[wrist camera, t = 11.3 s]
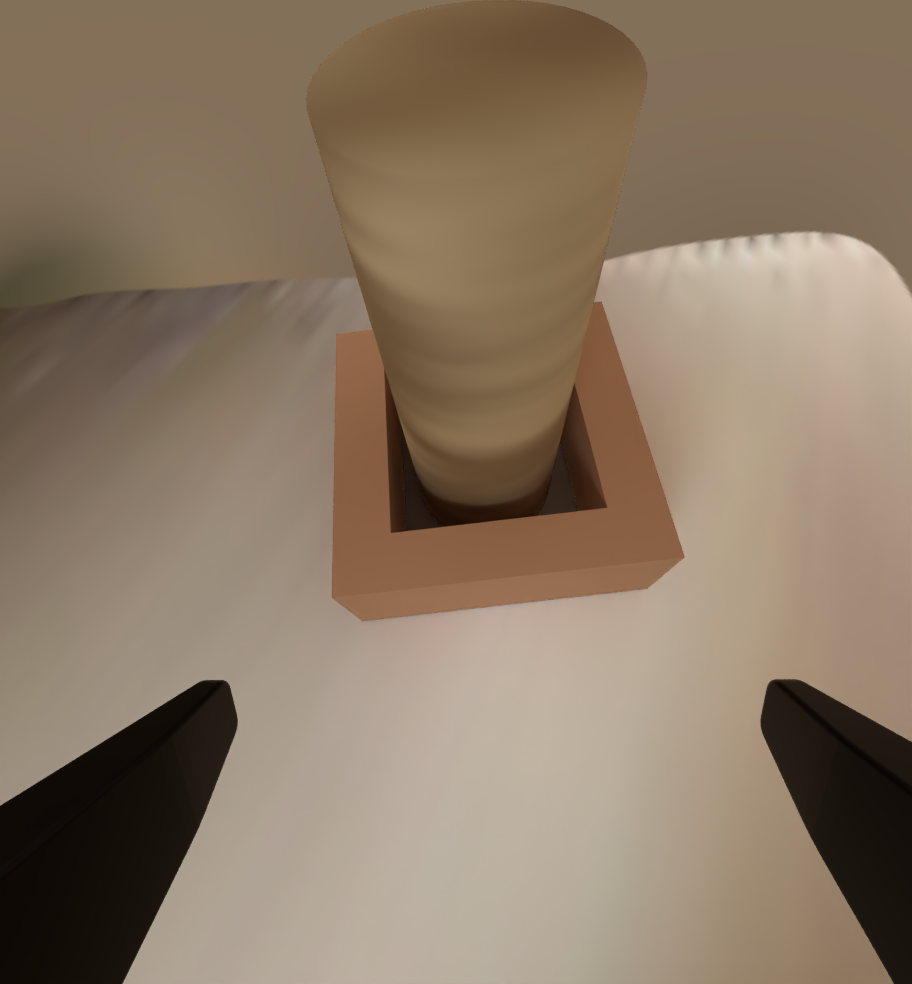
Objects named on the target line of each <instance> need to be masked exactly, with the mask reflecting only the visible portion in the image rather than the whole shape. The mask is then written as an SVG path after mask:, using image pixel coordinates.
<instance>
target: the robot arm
mask: <svg viewBox="0 0 912 984" xmlns="http://www.w3.org/2000/svg"><path fill="white" fill-rule="evenodd" d="M237 723H238V719H237V713H236V709H235V705H234V701H233V697H232V693H231V688H230V686H229V684H228V683H227V682H226V681H224V680H204V681H201V682H199V683H197V684H195V685H194V686H192V687H191V688H189V689H187V690H186V691H184V692H183V693H181V694H179V695H178V696H176V697H175V698H173V699H171V700H170V701H168V702H166V703H165V704H163V705H162V706H160V707H158V708H157V709H155V710H154V711H152V712H150V713H149V714H147V715H146V716H144V717H142V718H141V719H139V720H138V721H136V722H134V723H133V724H131V725H129V726H128V727H126V728H125V729H123V730H121V731H120V732H118V733H117V734H115V735H113V736H112V737H110V738H109V739H107V740H105V741H104V742H102V743H101V744H99V745H97V746H96V747H94V748H92V749H91V750H89V751H88V752H86V753H84V754H83V755H81V756H80V757H78V758H76V759H75V760H73V761H72V762H70V763H68V764H67V765H65V766H64V767H62V768H60V769H59V770H57V771H55V772H54V773H52V774H51V775H49V776H47V777H46V778H44V779H43V780H41V781H39V782H38V783H36V784H35V785H33V786H31V787H30V788H28V789H27V790H25V791H23V792H22V793H20V794H18V795H17V796H15V797H14V798H12V799H10V800H9V801H7V802H6V803H4V804H2V805H1V806H0V984H123V982H124V980H125V978H126V976H127V974H128V971H129V969H130V967H131V965H132V963H133V961H134V959H135V957H136V955H137V953H138V951H139V949H140V947H141V945H142V943H143V941H144V939H145V937H146V935H147V933H148V931H149V929H150V927H151V925H152V923H153V921H154V919H155V916H156V914H157V912H158V910H159V908H160V906H161V904H162V902H163V900H164V898H165V896H166V894H167V892H168V890H169V888H170V886H171V884H172V882H173V880H174V878H175V876H176V874H177V872H178V870H179V868H180V866H181V864H182V861H183V859H184V857H185V855H186V853H187V851H188V849H189V847H190V845H191V843H192V841H193V839H194V837H195V835H196V832H197V830H198V828H199V826H200V823H201V821H202V819H203V816H204V814H205V811H206V809H207V806H208V804H209V801H210V798H211V796H212V793H213V791H214V788H215V785H216V783H217V780H218V778H219V775H220V772H221V770H222V767H223V765H224V762H225V759H226V757H227V754H228V752H229V749H230V746H231V744H232V741H233V739H234V736H235V733H236V730H237ZM761 730H762V733H763V736H764V738H765V740H766V743H767V745H768V747H769V749H770V751H771V753H772V756H773V758H774V760H775V762H776V764H777V766H778V769H779V771H780V773H781V775H782V777H783V779H784V782H785V784H786V786H787V788H788V790H789V792H790V795H791V797H792V799H793V801H794V803H795V805H796V808H797V810H798V812H799V814H800V816H801V818H802V821H803V823H804V825H805V827H806V829H807V831H808V833H809V835H810V837H811V839H812V840H813V842H814V844H815V846H816V848H817V850H818V851H819V853H820V855H821V857H822V859H823V860H824V862H825V864H826V866H827V867H828V869H829V871H830V873H831V874H832V876H833V878H834V880H835V881H836V883H837V885H838V887H839V888H840V890H841V892H842V894H843V895H844V897H845V899H846V901H847V902H848V904H849V906H850V908H851V909H852V911H853V913H854V915H855V916H856V918H857V920H858V922H859V923H860V925H861V927H862V928H863V930H864V932H865V934H866V935H867V937H868V939H869V941H870V942H871V944H872V946H873V948H874V949H875V951H876V953H877V955H878V956H879V958H880V960H881V962H882V963H883V965H884V967H885V969H886V970H887V972H888V974H889V976H890V977H891V979H892V981H893V983H894V984H912V742H911V741H909V740H907V739H905V738H903V737H902V736H900V735H898V734H896V733H894V732H893V731H891V730H889V729H887V728H885V727H884V726H882V725H880V724H878V723H876V722H875V721H873V720H871V719H869V718H867V717H866V716H864V715H862V714H860V713H858V712H857V711H855V710H853V709H851V708H849V707H848V706H846V705H844V704H842V703H841V702H839V701H837V700H835V699H833V698H832V697H830V696H828V695H826V694H824V693H823V692H821V691H819V690H817V689H815V688H814V687H812V686H810V685H808V684H806V683H805V682H803V681H800V680H796V679H775V680H772V681H770V683H769V684H768V686H767V690H766V695H765V699H764V704H763V709H762V714H761Z"/></svg>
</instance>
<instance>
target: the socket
mask: <svg viewBox="0 0 912 984" xmlns="http://www.w3.org/2000/svg"><path fill="white" fill-rule="evenodd" d="M561 441H562V445H563V450H564V454H565V458H566V463H567V467H568V471H569V475H570V480H571V484H572V488H573V493H574V497H575V501H576V506H577V510H578V511H576V512H567V513H559V514H550V515H541V516H533V517H524V518H516V519H507V520H498V521H490V522H481V523H473V524H464V525H456V526H447V527H438V528H430V529H421V530H413V531H407V526H406V508H405V491H404V473H403V455H402V437H401V422H400V419H399V416H398V412H397V409H396V406H395V402H394V399H393V396H392V392H391V389H390V385H389V382H388V379H387V375H386V372H385V369H384V365H383V362H382V359H381V355H380V352H379V349H378V345H377V342H376V339H375V335H374V332H373V330H368V331H360V332H352V333H344V334H336V390H335V448H334V506H333V564H332V598H333V599H334V600H336V601H337V602H338V603H339V604H341V605H342V606H343V607H345V608H346V609H347V610H348V611H350V612H351V613H352V614H354V615H355V616H356V617H357V618H359V619H360V620H361V621H367V620H375V619H384V618H393V617H402V616H411V615H419V614H428V613H437V612H446V611H455V610H463V609H472V608H481V607H490V606H499V605H507V604H516V603H525V602H534V601H543V600H551V599H560V598H569V597H578V596H586V595H595V594H604V593H613V592H622V591H630V590H639V589H647V588H649V587H650V586H651V585H652V584H653V583H655V582H656V581H657V580H658V579H659V578H661V577H662V576H663V575H664V574H665V573H666V572H668V571H669V570H670V569H671V568H672V567H674V566H675V565H676V564H677V563H678V562H679V561H681V560H682V559H683V558H684V554H683V551H682V548H681V545H680V542H679V538H678V535H677V532H676V529H675V526H674V523H673V520H672V517H671V514H670V511H669V508H668V505H667V502H666V498H665V495H664V492H663V489H662V486H661V483H660V480H659V477H658V474H657V471H656V468H655V465H654V462H653V459H652V455H651V452H650V449H649V446H648V443H647V440H646V437H645V434H644V431H643V428H642V425H641V422H640V419H639V416H638V412H637V409H636V406H635V403H634V400H633V397H632V394H631V391H630V388H629V385H628V382H627V379H626V376H625V373H624V369H623V366H622V363H621V360H620V357H619V354H618V351H617V348H616V345H615V342H614V339H613V336H612V333H611V330H610V326H609V323H608V320H607V317H606V314H605V311H604V308H603V305H602V302H595V303H593V307H592V311H591V316H590V320H589V324H588V328H587V332H586V336H585V340H584V344H583V349H582V353H581V357H580V361H579V365H578V369H577V373H576V377H575V381H574V386H573V390H572V394H571V398H570V402H569V406H568V410H567V414H566V419H565V423H564V427H563V431H562V435H561Z"/></svg>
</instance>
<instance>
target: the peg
mask: <svg viewBox="0 0 912 984" xmlns="http://www.w3.org/2000/svg"><path fill="white" fill-rule="evenodd" d="M646 82H647V71H646V65H645V62H644V59H643V57H642V55H641V53H640V51H639V50H638V48H637V47H636V46H635V45H634V43H633V42H632V41H631V40H630V39H629V38H628V37H627V36H626V35H625V34H623V33H622V32H621V31H619V30H618V29H616V28H615V27H613V26H612V25H610V24H608V23H606V22H604V21H602V20H600V19H598V18H596V17H594V16H591V15H589V14H586V13H583V12H580V11H577V10H573V9H570V8H566V7H562V6H557V5H551V4H547V3H539V2H531V1H516V0H483V1H469V2H460V3H452V4H446V5H441V6H435V7H430V8H426V9H422V10H418V11H414V12H411V13H408V14H404V15H401V16H398V17H395V18H393V19H390V20H387V21H384V22H382V23H380V24H378V25H375V26H373V27H371V28H369V29H367V30H365V31H363V32H361V33H360V34H358V35H356V36H354V37H352V38H351V39H349V40H348V41H346V42H345V43H344V44H342V45H341V46H339V47H338V48H337V49H336V50H335V51H334V52H332V53H331V54H330V55H329V56H328V57H327V58H326V59H325V60H324V61H323V63H322V64H321V65H320V66H319V67H318V69H317V71H316V72H315V74H314V75H313V77H312V79H311V82H310V84H309V86H308V91H307V97H306V102H307V111H308V115H309V118H310V122H311V125H312V128H313V132H314V135H315V138H316V142H317V145H318V148H319V152H320V155H321V158H322V162H323V165H324V168H325V172H326V175H327V178H328V182H329V185H330V188H331V192H332V195H333V198H334V202H335V205H336V208H337V212H338V215H339V218H340V222H341V225H342V228H343V232H344V235H345V239H346V242H347V245H348V249H349V252H350V255H351V259H352V262H353V265H354V269H355V272H356V275H357V279H358V282H359V285H360V289H361V292H362V295H363V299H364V302H365V305H366V309H367V312H368V315H369V319H370V322H371V325H372V329H373V332H374V335H375V339H376V342H377V345H378V349H379V352H380V355H381V359H382V362H383V365H384V369H385V372H386V375H387V379H388V382H389V385H390V389H391V392H392V396H393V399H394V402H395V406H396V409H397V412H398V416H399V419H400V422H401V426H402V429H403V432H404V436H405V439H406V442H407V446H408V449H409V452H410V456H411V459H412V462H413V466H414V469H415V472H416V476H417V479H418V482H419V486H420V489H421V492H422V496H423V499H424V502H425V504H426V506H427V508H428V510H429V512H430V513H431V515H432V516H433V517H434V518H435V519H436V521H437V522H438V523H440V524H441V525H442V526H443V527H447V526H456V525H464V524H473V523H481V522H490V521H498V520H507V519H516V518H524V517H533V516H537V515H538V513H539V512H540V510H541V509H542V507H543V504H544V502H545V500H546V496H547V493H548V489H549V484H550V480H551V476H552V472H553V468H554V464H555V460H556V456H557V451H558V447H559V443H560V439H561V435H562V431H563V427H564V423H565V419H566V414H567V410H568V406H569V402H570V398H571V394H572V390H573V386H574V381H575V377H576V373H577V369H578V365H579V361H580V357H581V353H582V349H583V344H584V340H585V336H586V332H587V328H588V324H589V320H590V316H591V311H592V307H593V303H594V299H595V295H596V291H597V287H598V283H599V279H600V274H601V270H602V266H603V262H604V258H605V254H606V250H607V246H608V241H609V237H610V233H611V229H612V225H613V221H614V217H615V213H616V209H617V204H618V200H619V196H620V192H621V187H622V184H623V180H624V175H625V171H626V167H627V163H628V159H629V155H630V151H631V147H632V142H633V139H634V134H635V130H636V126H637V122H638V118H639V114H640V110H641V106H642V101H643V97H644V93H645V89H646Z"/></svg>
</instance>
